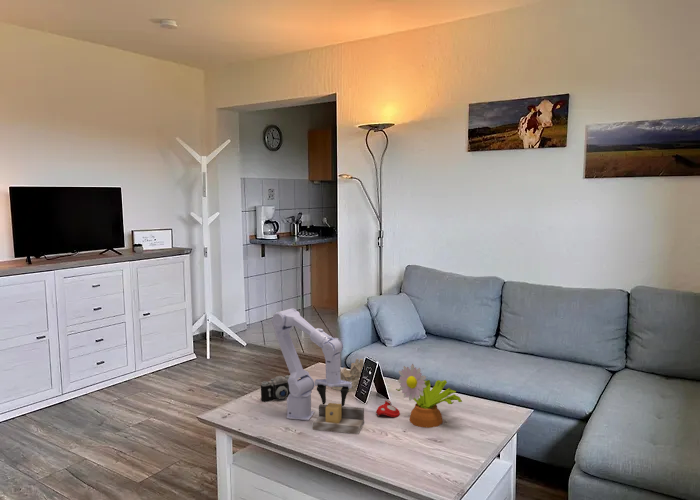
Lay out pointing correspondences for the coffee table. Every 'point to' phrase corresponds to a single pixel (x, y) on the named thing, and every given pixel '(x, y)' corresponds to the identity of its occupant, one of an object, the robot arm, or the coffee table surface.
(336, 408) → the cabinet block
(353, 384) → the rough stone chunk
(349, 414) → the board
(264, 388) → the camera
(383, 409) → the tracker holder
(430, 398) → the decorative plant
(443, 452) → the coffee table surface
